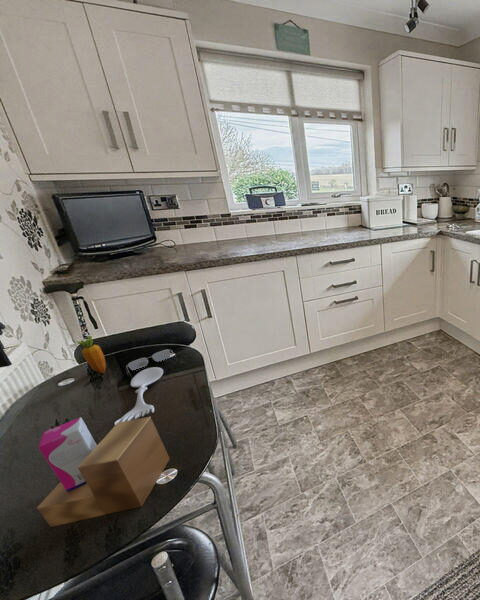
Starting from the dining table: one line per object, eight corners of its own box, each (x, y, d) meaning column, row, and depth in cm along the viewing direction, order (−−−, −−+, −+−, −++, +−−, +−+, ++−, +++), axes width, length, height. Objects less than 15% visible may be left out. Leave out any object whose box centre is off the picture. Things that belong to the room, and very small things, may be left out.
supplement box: (105, 458, 70) (82, 415, 66) (104, 475, 66) (79, 430, 62) (69, 474, 67) (42, 430, 63) (66, 493, 63) (36, 447, 59)
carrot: (93, 380, 114) (73, 342, 109) (95, 374, 118) (76, 337, 113) (111, 374, 117) (93, 337, 111) (112, 369, 121) (95, 332, 115)
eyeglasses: (173, 356, 125) (170, 347, 124) (179, 364, 120) (175, 355, 118) (129, 373, 116) (124, 363, 115) (133, 382, 111) (128, 372, 109)
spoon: (117, 434, 86) (111, 423, 84) (135, 379, 112) (131, 370, 111) (157, 419, 90) (153, 409, 89) (165, 369, 116) (162, 361, 115)
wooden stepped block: (50, 527, 62) (17, 479, 58) (93, 475, 73) (68, 432, 69) (141, 506, 64) (116, 459, 60) (170, 459, 75) (150, 416, 71)
